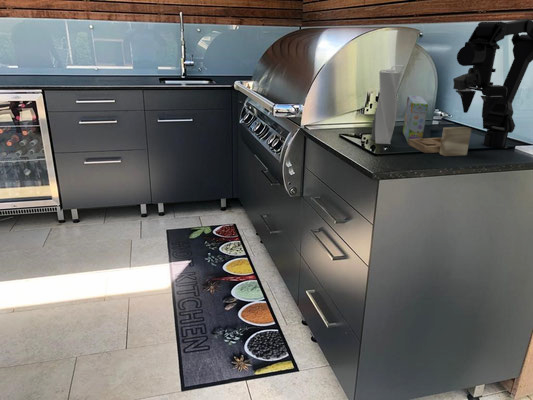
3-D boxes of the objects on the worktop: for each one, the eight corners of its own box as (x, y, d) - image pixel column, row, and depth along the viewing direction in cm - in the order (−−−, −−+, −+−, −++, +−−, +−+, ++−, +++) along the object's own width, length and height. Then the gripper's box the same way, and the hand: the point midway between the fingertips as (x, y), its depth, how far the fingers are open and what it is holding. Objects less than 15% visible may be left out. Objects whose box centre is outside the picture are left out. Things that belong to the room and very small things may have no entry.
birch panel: (439, 154, 143) (443, 127, 139) (460, 153, 144) (465, 126, 141) (444, 157, 140) (448, 129, 137) (466, 156, 141) (471, 128, 138)
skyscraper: (393, 142, 161) (402, 63, 151) (395, 148, 153) (405, 65, 143) (370, 141, 162) (377, 63, 152) (371, 147, 155) (379, 65, 144)
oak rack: (440, 145, 156) (441, 137, 155) (459, 153, 146) (461, 145, 145) (407, 146, 154) (408, 139, 153) (424, 155, 144) (426, 146, 143)
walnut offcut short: (424, 143, 151) (424, 140, 150) (433, 146, 146) (433, 143, 146) (417, 144, 150) (417, 140, 150) (426, 147, 146) (426, 144, 145)
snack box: (423, 145, 156) (429, 103, 150) (406, 145, 157) (412, 102, 151) (416, 133, 175) (421, 95, 170) (401, 132, 176) (406, 94, 171)
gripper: (442, 63, 142) (435, 111, 148) (479, 67, 125) (470, 121, 131) (472, 62, 144) (464, 110, 150) (513, 67, 127) (502, 120, 133)
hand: (474, 115), depth 141 cm, fingers open, 9 cm apart
